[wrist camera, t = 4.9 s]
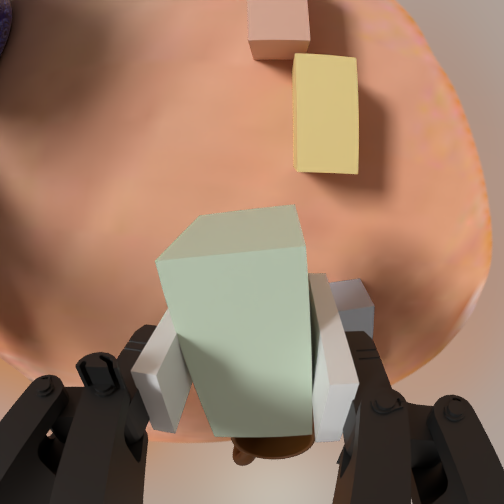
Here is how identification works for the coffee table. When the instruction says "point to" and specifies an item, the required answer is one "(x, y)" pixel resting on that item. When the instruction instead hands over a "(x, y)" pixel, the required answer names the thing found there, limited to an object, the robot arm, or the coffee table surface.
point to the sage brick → (244, 319)
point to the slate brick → (354, 305)
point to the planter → (5, 22)
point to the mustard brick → (325, 114)
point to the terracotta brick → (278, 28)
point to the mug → (270, 447)
